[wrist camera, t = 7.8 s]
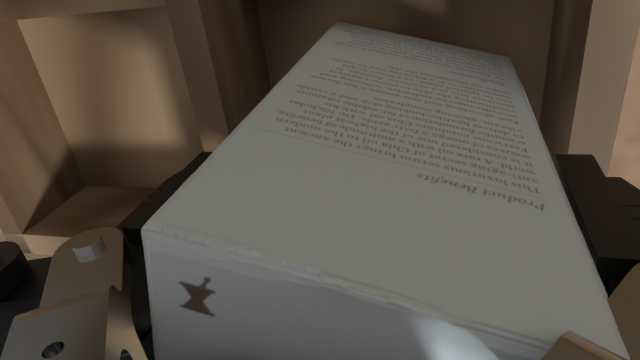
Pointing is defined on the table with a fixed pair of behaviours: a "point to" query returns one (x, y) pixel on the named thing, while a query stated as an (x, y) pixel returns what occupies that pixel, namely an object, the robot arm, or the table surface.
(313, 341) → the skincare box
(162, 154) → the slot rack
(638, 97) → the table surface
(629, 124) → the table surface
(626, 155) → the table surface
